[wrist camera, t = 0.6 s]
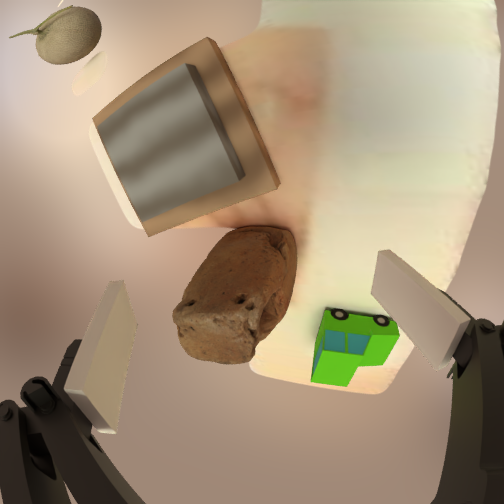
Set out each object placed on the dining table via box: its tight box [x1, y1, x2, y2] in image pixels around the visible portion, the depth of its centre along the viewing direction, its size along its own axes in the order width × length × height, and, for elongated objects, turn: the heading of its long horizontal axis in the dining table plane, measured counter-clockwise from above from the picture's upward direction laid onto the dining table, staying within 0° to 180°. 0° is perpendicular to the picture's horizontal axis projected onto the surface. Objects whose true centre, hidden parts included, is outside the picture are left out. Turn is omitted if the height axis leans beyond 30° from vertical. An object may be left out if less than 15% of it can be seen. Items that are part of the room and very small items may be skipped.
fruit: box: [9, 5, 102, 65], centre depth 23 cm, size 10×12×15 cm
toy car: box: [311, 309, 400, 387], centre depth 41 cm, size 10×13×10 cm
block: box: [172, 227, 297, 364], centre depth 33 cm, size 11×8×20 cm
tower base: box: [93, 37, 280, 237], centre depth 34 cm, size 22×22×6 cm
